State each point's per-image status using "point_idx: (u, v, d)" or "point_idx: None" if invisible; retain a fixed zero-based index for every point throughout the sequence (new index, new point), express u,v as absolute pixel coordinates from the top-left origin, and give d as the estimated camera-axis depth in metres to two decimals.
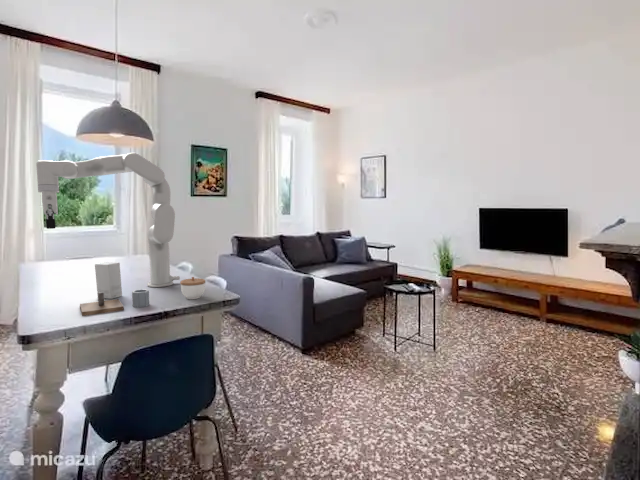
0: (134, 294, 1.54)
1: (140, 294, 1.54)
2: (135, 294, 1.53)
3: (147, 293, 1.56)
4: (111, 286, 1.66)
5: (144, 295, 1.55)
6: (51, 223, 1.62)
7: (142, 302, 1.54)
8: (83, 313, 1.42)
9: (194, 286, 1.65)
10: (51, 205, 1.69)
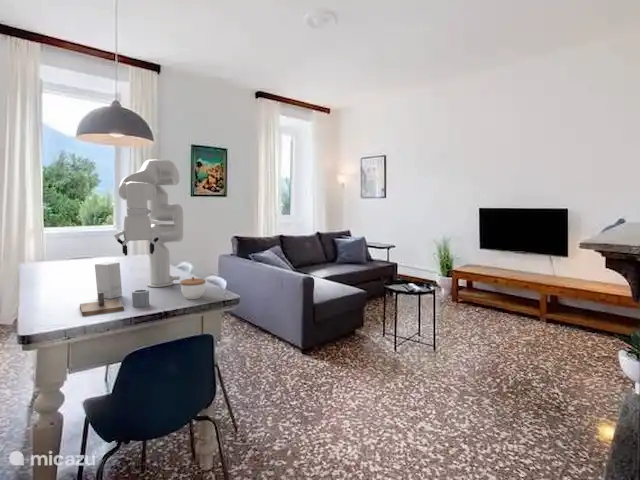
0: (134, 294, 1.54)
1: (140, 294, 1.54)
2: (135, 294, 1.53)
3: (147, 293, 1.56)
4: (111, 286, 1.66)
5: (144, 295, 1.55)
6: (153, 248, 1.58)
7: (142, 302, 1.54)
8: (83, 313, 1.42)
9: (194, 286, 1.65)
10: None
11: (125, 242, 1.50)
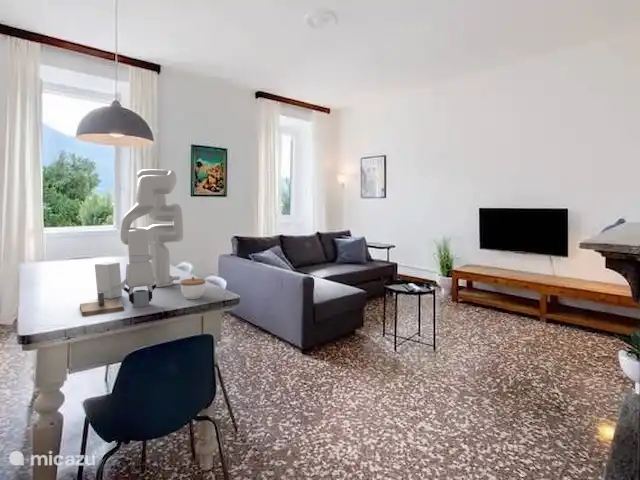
0: (134, 294, 1.54)
1: (140, 294, 1.54)
2: (135, 294, 1.53)
3: (147, 293, 1.56)
4: (111, 286, 1.66)
5: (144, 295, 1.55)
6: (151, 295, 1.59)
7: (142, 302, 1.54)
8: (83, 313, 1.42)
9: (194, 286, 1.65)
10: None
11: (131, 291, 1.53)
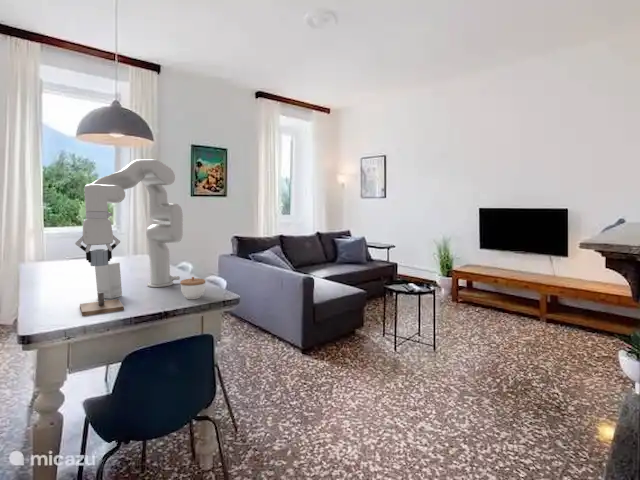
0: (91, 252, 1.46)
1: (98, 252, 1.46)
2: (92, 252, 1.46)
3: (106, 252, 1.49)
4: (111, 286, 1.66)
5: (102, 254, 1.47)
6: None
7: (100, 261, 1.47)
8: (83, 313, 1.42)
9: (194, 286, 1.65)
10: None
11: (88, 249, 1.46)
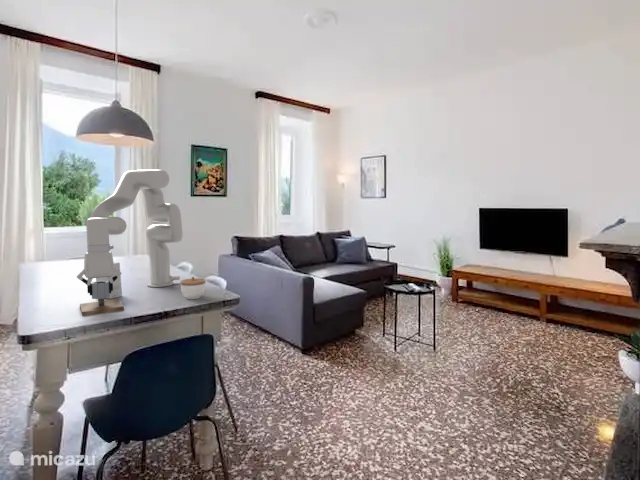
0: (93, 285, 1.47)
1: (99, 285, 1.47)
2: (94, 285, 1.47)
3: (107, 284, 1.50)
4: None
5: (103, 286, 1.48)
6: None
7: (101, 294, 1.48)
8: (83, 313, 1.42)
9: (194, 286, 1.65)
10: None
11: (90, 282, 1.47)
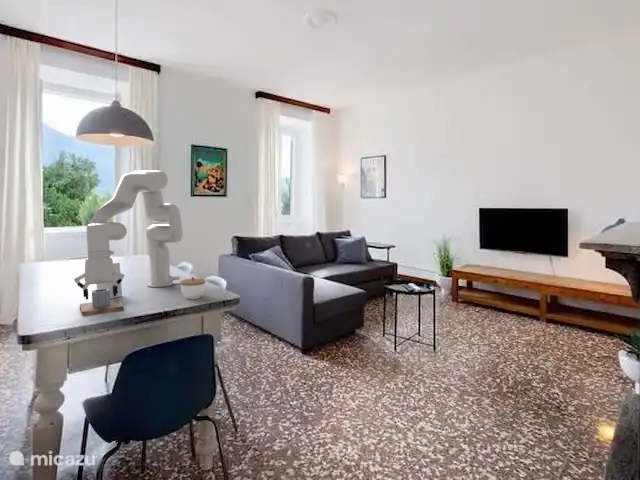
0: (93, 294, 1.48)
1: (100, 294, 1.48)
2: (94, 294, 1.48)
3: (107, 293, 1.50)
4: (111, 286, 1.66)
5: (104, 295, 1.49)
6: None
7: (102, 302, 1.48)
8: (83, 313, 1.42)
9: (194, 286, 1.65)
10: None
11: (86, 286, 1.46)
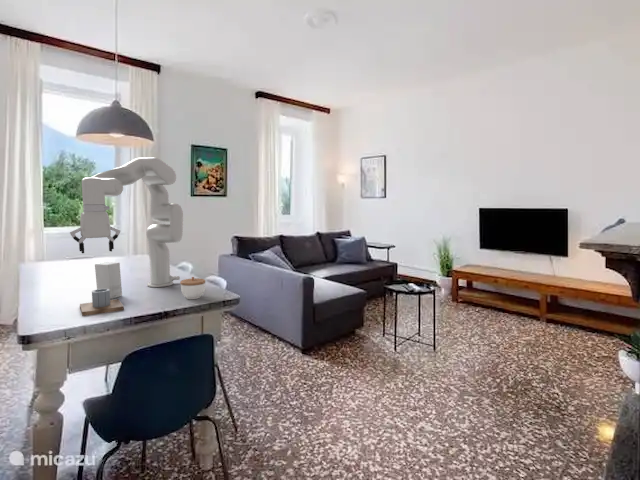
0: (93, 294, 1.48)
1: (100, 294, 1.48)
2: (94, 294, 1.48)
3: (107, 293, 1.50)
4: (111, 286, 1.66)
5: (104, 295, 1.49)
6: None
7: (102, 302, 1.48)
8: (83, 313, 1.42)
9: (194, 286, 1.65)
10: None
11: (81, 240, 1.46)
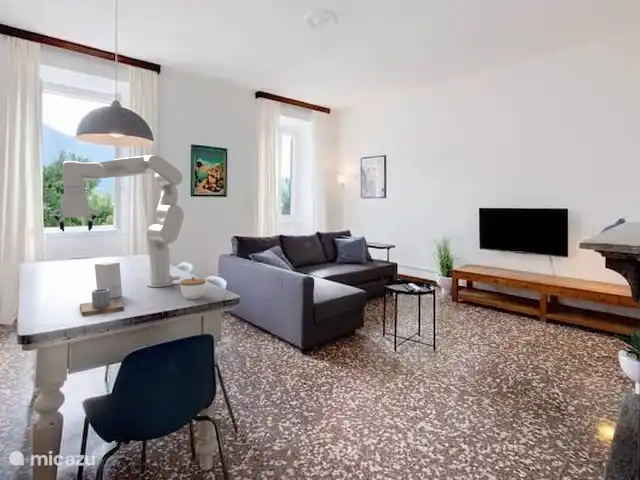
0: (93, 294, 1.48)
1: (100, 294, 1.48)
2: (94, 294, 1.48)
3: (107, 293, 1.50)
4: (111, 286, 1.66)
5: (104, 295, 1.49)
6: (91, 225, 1.66)
7: (102, 302, 1.48)
8: (83, 313, 1.42)
9: (194, 286, 1.65)
10: None
11: (62, 218, 1.58)
